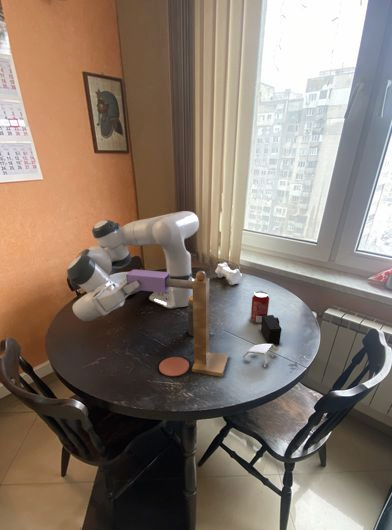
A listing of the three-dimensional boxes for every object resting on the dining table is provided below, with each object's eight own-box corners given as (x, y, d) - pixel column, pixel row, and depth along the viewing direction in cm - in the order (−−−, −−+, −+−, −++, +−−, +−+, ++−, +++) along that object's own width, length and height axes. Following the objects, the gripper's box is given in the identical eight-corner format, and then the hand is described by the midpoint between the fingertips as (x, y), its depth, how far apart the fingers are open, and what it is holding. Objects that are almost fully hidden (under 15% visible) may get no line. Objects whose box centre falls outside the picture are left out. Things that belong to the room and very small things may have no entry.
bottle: (192, 337, 115) (191, 302, 107) (185, 330, 120) (184, 296, 112) (205, 333, 117) (205, 299, 109) (198, 327, 122) (198, 293, 114)
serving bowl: (121, 281, 165) (120, 269, 161) (154, 287, 157) (153, 275, 153) (95, 296, 149) (92, 283, 145) (130, 304, 141) (127, 290, 137)
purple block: (128, 289, 91) (125, 274, 89) (134, 283, 95) (132, 269, 93) (165, 292, 88) (163, 278, 86) (170, 286, 92) (169, 272, 90)
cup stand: (167, 367, 100) (159, 274, 83) (177, 350, 108) (171, 262, 91) (222, 376, 96) (225, 280, 78) (228, 358, 104) (232, 267, 86)
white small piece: (260, 373, 97) (261, 360, 94) (241, 361, 102) (242, 349, 100) (283, 358, 103) (285, 346, 101) (264, 347, 109) (265, 336, 106)
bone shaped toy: (242, 283, 159) (243, 269, 154) (228, 287, 156) (229, 272, 151) (227, 274, 170) (227, 260, 166) (214, 277, 167) (214, 263, 163)
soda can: (266, 325, 122) (269, 298, 116) (249, 323, 124) (252, 297, 117) (266, 317, 128) (269, 291, 122) (250, 315, 129) (252, 290, 123)
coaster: (153, 370, 99) (152, 369, 99) (170, 354, 106) (170, 353, 106) (178, 380, 95) (178, 379, 94) (194, 363, 102) (194, 362, 102)
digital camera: (282, 344, 110) (285, 328, 107) (268, 345, 110) (270, 329, 106) (274, 329, 119) (276, 314, 115) (260, 330, 119) (262, 315, 115)
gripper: (131, 291, 107) (161, 275, 100) (100, 318, 90) (134, 302, 84) (121, 275, 105) (150, 258, 98) (87, 301, 88) (121, 282, 81)
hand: (143, 278), depth 91 cm, fingers closed on purple block, 4 cm apart
